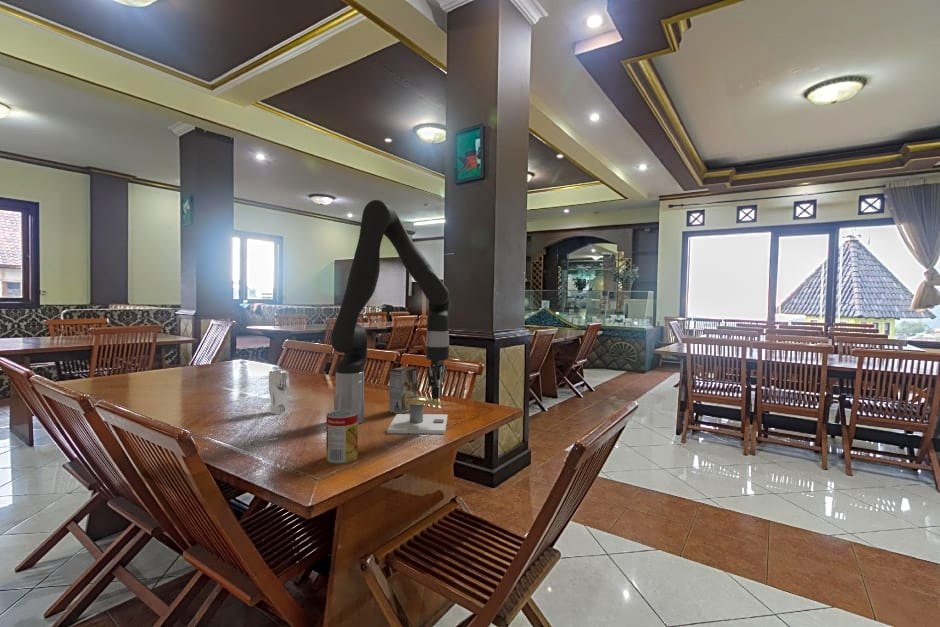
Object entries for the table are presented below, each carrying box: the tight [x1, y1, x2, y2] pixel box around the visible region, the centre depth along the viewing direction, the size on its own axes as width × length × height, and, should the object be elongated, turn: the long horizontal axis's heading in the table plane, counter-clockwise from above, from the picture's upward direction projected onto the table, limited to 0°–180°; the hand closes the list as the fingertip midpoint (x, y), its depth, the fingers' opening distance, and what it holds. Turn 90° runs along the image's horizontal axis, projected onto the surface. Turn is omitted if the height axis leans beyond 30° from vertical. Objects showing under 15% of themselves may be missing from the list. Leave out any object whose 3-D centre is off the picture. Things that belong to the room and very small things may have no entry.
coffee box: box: [388, 366, 418, 414], centre depth 162 cm, size 9×6×16 cm
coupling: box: [406, 381, 443, 407], centre depth 143 cm, size 7×12×8 cm, turn 66°
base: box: [386, 404, 448, 435], centre depth 144 cm, size 18×18×7 cm
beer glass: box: [268, 369, 290, 415], centre depth 158 cm, size 7×7×15 cm
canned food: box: [326, 409, 359, 465], centre depth 114 cm, size 8×8×12 cm
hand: (436, 397), depth 141 cm, fingers closed on coupling, 2 cm apart
